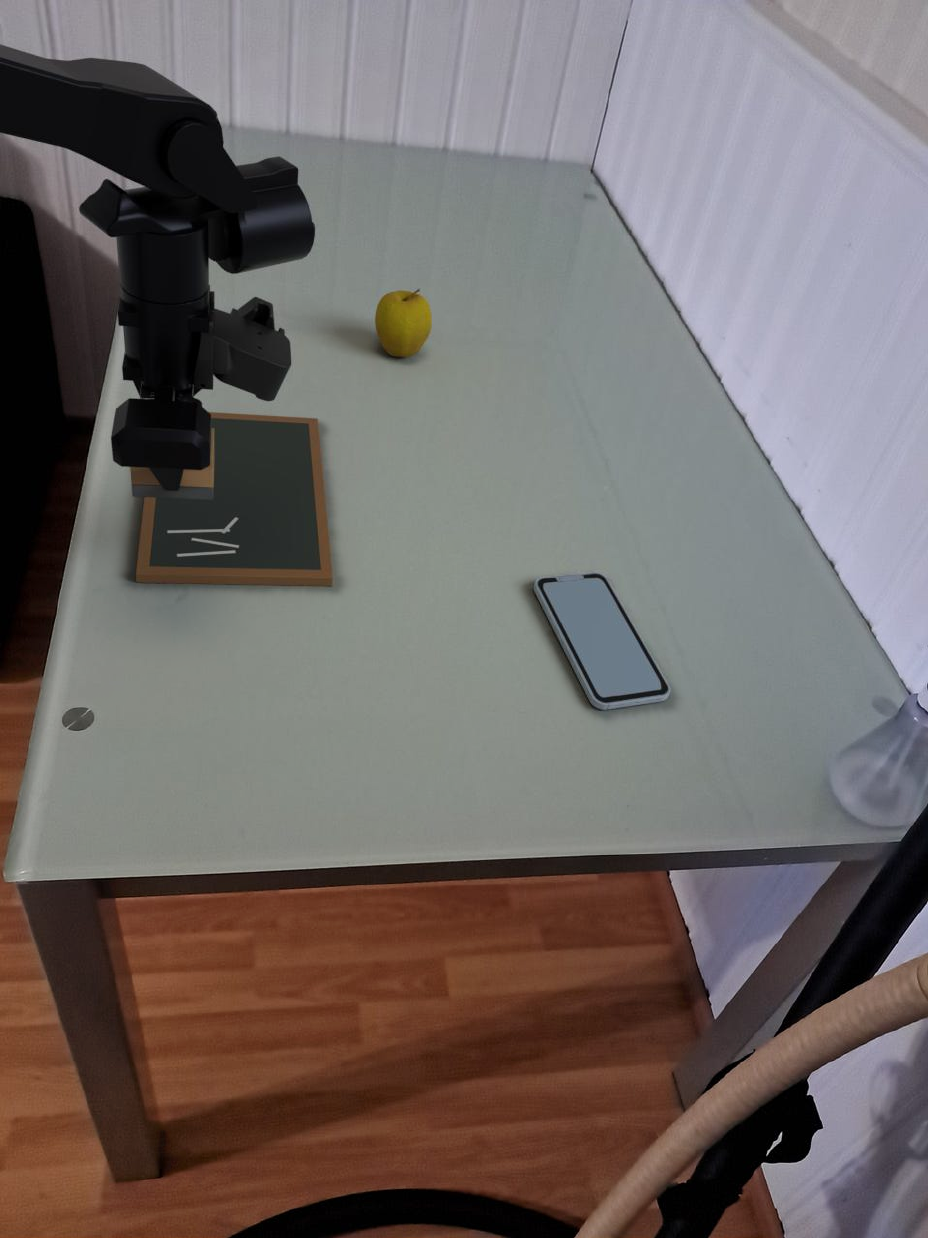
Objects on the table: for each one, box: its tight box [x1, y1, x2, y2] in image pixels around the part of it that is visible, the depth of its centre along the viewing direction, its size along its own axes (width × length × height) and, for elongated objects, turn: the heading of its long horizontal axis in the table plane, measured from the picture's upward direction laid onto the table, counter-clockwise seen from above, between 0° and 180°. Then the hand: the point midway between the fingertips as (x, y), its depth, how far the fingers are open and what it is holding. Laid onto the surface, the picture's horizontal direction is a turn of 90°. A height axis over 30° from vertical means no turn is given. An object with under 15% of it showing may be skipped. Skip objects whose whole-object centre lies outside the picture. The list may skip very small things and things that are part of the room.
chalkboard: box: [135, 411, 334, 587], centre depth 88 cm, size 16×24×1 cm, turn 9°
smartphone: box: [533, 571, 672, 711], centre depth 83 cm, size 7×1×15 cm
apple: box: [374, 288, 433, 358], centre depth 110 cm, size 6×6×8 cm
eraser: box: [129, 428, 215, 500], centre depth 74 cm, size 6×4×4 cm, turn 99°
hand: (173, 472), depth 75 cm, fingers closed on eraser, 4 cm apart
